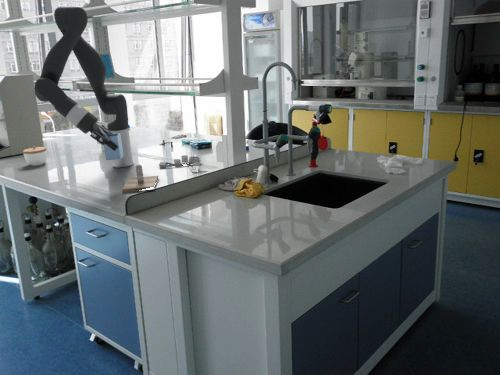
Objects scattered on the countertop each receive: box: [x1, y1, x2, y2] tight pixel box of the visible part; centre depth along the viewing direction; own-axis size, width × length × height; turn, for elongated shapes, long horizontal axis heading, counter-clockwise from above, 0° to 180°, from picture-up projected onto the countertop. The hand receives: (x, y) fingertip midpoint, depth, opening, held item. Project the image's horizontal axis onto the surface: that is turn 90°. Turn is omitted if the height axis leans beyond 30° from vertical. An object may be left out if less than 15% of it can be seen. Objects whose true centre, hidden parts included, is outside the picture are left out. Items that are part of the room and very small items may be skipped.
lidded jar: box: [22, 145, 48, 167], centre depth 231 cm, size 11×11×9 cm
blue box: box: [103, 134, 124, 161], centre depth 179 cm, size 6×6×9 cm
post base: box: [121, 164, 159, 194], centre depth 182 cm, size 16×12×9 cm
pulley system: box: [158, 154, 201, 168], centre depth 208 cm, size 27×5×15 cm
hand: (118, 147), depth 179 cm, fingers closed on blue box, 5 cm apart
